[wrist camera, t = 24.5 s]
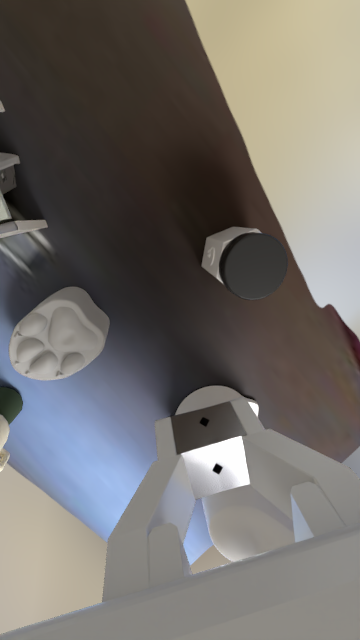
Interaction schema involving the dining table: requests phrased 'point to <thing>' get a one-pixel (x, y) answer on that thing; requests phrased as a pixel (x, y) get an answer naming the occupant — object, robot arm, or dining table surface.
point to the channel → (19, 226)
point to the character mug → (7, 418)
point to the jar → (246, 261)
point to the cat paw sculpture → (59, 336)
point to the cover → (4, 209)
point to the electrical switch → (7, 171)
